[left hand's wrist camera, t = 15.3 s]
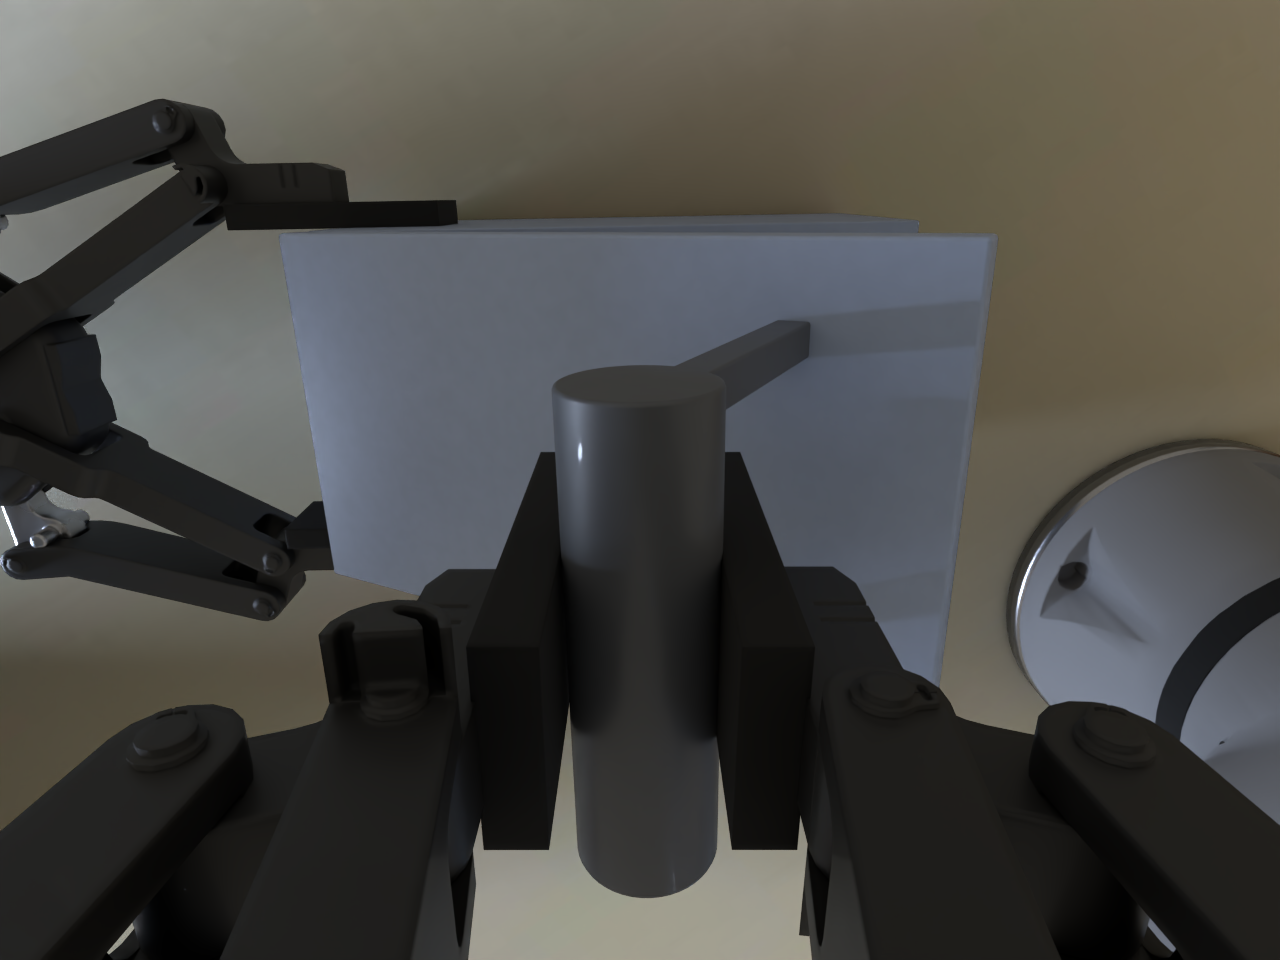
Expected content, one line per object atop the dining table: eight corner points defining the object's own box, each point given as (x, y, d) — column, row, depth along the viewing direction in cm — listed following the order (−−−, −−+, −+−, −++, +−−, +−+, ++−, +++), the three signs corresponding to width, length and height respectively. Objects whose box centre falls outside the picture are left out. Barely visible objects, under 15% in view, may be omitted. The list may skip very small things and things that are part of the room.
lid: (999, 232, 14) (923, 279, 7) (937, 701, 18) (841, 1072, 10) (314, 230, 22) (-71, 252, 14) (364, 558, 25) (73, 710, 18)
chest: (840, 213, 31) (919, 220, 21) (824, 454, 34) (887, 554, 25) (417, 221, 31) (307, 231, 22) (442, 457, 35) (357, 556, 25)
